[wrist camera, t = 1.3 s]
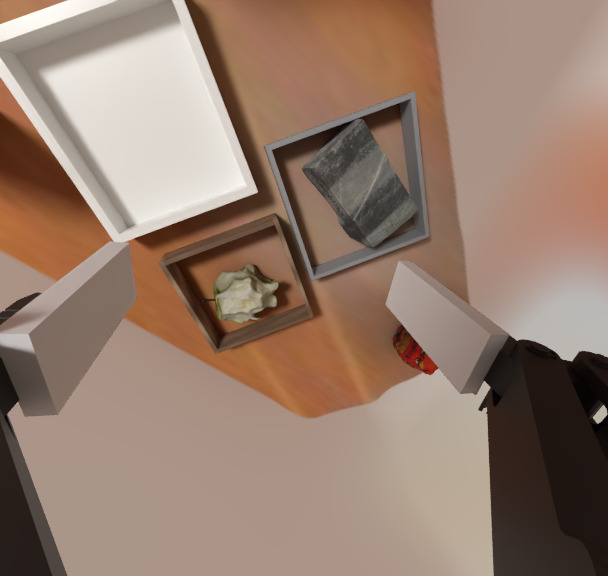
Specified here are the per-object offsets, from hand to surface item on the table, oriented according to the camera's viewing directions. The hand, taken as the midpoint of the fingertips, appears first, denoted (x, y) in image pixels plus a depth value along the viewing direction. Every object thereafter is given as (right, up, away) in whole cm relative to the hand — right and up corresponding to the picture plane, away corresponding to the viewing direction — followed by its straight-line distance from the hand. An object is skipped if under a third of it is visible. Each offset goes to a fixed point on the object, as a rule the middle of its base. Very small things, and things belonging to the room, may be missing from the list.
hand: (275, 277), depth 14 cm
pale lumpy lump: (-8, 0, +30) cm, 31 cm away
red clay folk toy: (+21, -9, +40) cm, 46 cm away
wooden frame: (-8, 0, +29) cm, 30 cm away
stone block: (+8, +14, +26) cm, 31 cm away
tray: (-16, +18, +18) cm, 30 cm away
